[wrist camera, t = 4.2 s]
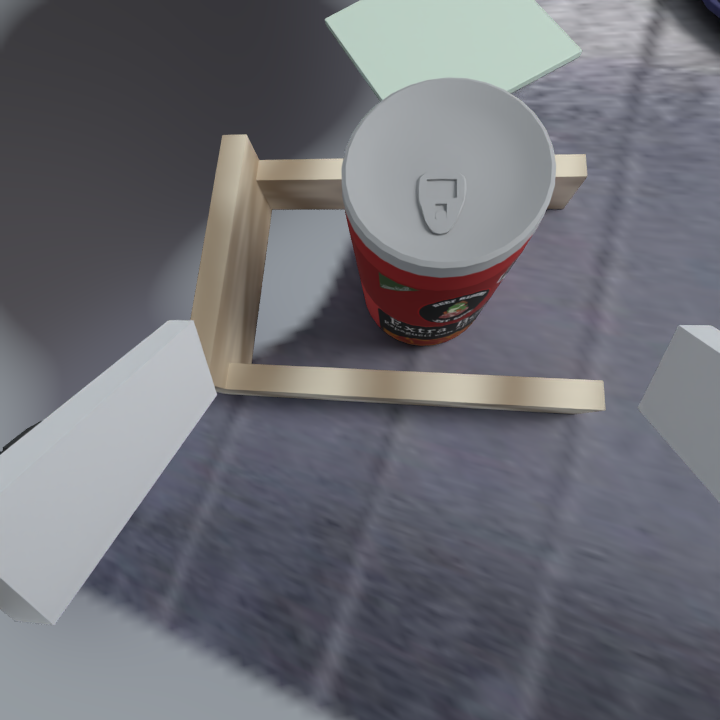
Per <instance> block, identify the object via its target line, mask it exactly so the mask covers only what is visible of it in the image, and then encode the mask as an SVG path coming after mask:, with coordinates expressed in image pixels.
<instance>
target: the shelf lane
mask: <svg viewBox="0 0 720 720" xmlns="http://www.w3.org/2000/svg"><path fill="white" fill-rule="evenodd" d="M555 162H556V177H555V187H554V190H553V193H552V197H551V200H550V203H549V206H548V207H547V209H564V207H565V206H566V205H567V203H568V202H569V201H570V199H571V198H572V197H573V195H574V194H575V192H576V191H577V190H578V188H579V187H580V186H581V184H582V183H583V182H584V180H585V179H586V177H587V166H586V154H572V155H555ZM342 163H343V159H298V160H259V159H258V157H257V155H256V153H255V151H254V149H253V147H252V145H251V143H250V141H249V139H248V137H247V135H223V136H222V141H221V148H220V153H219V159H218V164H217V170H216V176H215V181H214V187H213V194H212V199H211V204H210V210H209V216H208V222H207V227H206V233H205V239H204V245H203V250H202V256H201V262H200V268H199V273H198V279H197V285H196V291H195V296H194V302H193V308H192V314H191V320H194V324H195V327H196V330H197V333H198V336H199V339H200V342H201V346H202V349H203V352H204V355H205V358H206V361H207V364H208V368H209V371H210V374H211V377H212V380H213V383H214V386H215V390H216V392H220V393H223V394H235V395H252V396H269V397H287V398H304V399H322V400H339V401H356V402H374V403H391V404H409V405H426V406H443V407H461V408H478V409H495V410H513V411H530V412H548V413H565V414H581V413H588V412H596V411H604V410H605V398H604V385H603V381H599V380H578V379H557V378H536V377H515V376H494V375H473V374H452V373H431V372H410V371H388V370H367V369H346V368H325V367H304V366H283V365H262V364H252V356H253V349H254V341H255V334H256V326H257V319H258V311H259V303H260V296H261V288H262V281H263V274H264V265H265V259H266V251H267V244H268V236H269V228H270V220H271V213H272V210H280V209H281V210H282V209H283V210H284V209H287V210H289V209H290V210H291V209H292V210H293V209H345V207H344V202H343V198H342V169H341V168H342Z"/></svg>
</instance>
